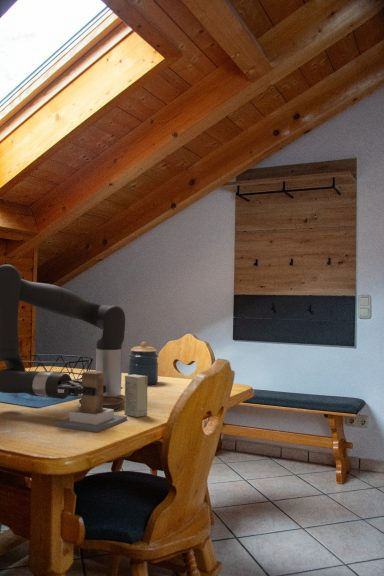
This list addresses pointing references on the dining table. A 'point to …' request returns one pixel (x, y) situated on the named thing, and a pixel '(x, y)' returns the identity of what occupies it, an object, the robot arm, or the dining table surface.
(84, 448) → the dining table surface
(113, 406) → the saucer
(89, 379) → the walnut square peg
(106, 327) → the robot arm
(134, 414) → the skincare box
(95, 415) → the collar holder
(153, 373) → the canister
